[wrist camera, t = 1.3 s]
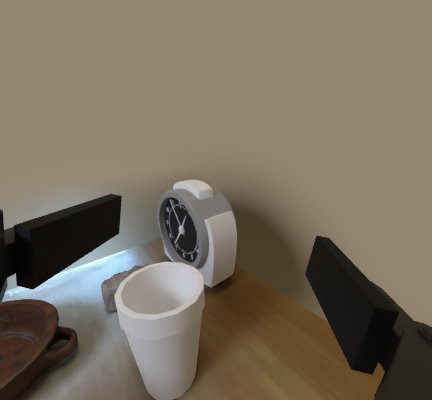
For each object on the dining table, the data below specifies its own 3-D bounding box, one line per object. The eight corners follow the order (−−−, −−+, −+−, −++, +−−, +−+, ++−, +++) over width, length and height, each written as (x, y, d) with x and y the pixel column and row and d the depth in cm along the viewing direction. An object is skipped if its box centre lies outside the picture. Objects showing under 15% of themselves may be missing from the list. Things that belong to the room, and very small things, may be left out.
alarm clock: (159, 264, 52) (149, 178, 46) (188, 251, 57) (183, 173, 51) (209, 305, 39) (205, 194, 33) (241, 283, 44) (243, 184, 39)
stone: (170, 302, 40) (167, 274, 38) (111, 330, 35) (104, 299, 33) (154, 279, 46) (151, 254, 44) (102, 300, 41) (96, 273, 39)
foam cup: (115, 384, 27) (95, 295, 23) (169, 329, 34) (161, 254, 31) (172, 439, 22) (160, 336, 18) (221, 361, 29) (220, 276, 26)
